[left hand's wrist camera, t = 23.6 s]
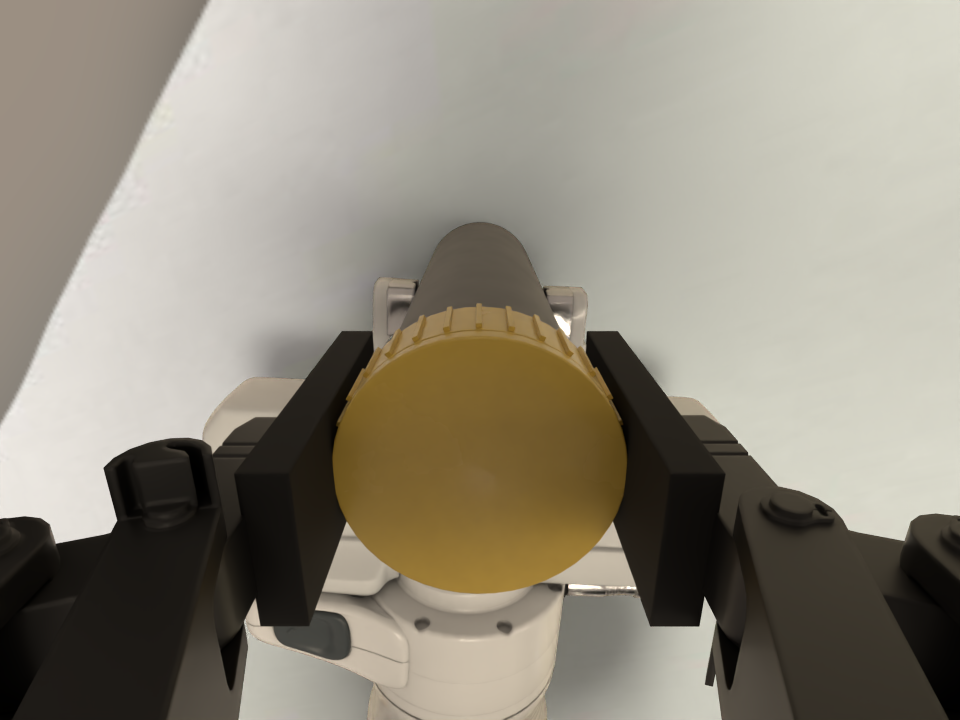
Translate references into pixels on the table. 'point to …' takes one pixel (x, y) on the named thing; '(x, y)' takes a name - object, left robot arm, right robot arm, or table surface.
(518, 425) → the lid
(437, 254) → the jar
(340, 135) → the table surface
